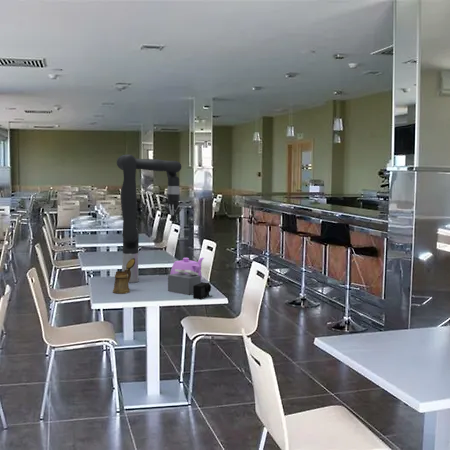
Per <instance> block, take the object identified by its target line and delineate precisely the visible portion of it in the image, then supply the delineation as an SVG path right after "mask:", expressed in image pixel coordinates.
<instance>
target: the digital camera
mask: <svg viewBox="0 0 450 450" xmlns="http://www.w3.org/2000/svg"><path fill="white" fill-rule="evenodd" d="M211 290H212V286H211V284H210V282H204V281H203V282H201V283H199V284H197V285H194V286H193V294H192V296H193V297H192V298H193V299H197V300H203V299H204V298H207V297H209V296H210V292H211ZM208 295H209V296H208ZM206 296H207V297H206Z"/></svg>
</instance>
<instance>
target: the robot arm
mask: <svg viewBox="0 0 450 450" xmlns="http://www.w3.org/2000/svg"><path fill="white" fill-rule="evenodd" d="M116 166H117V167H118V168H119V169H120V170H122V172H123V181H122V185H121V191H120V205H121V213H122V235H121V236H122V265H121V271H125V270H126V265H127V263H128V261H129V260H131V259H132V258H135V265H134V266H133V267H132V268H131V269H130V271H131V277H130V280H129V283H130V284H131V283H132V284H133V283H137V282H139V247H140V246H139V245H140V244H139V239H140V238H139V235H140V234H139V229H138V228H137V208H138V198H137V196H138V195H137V183H136V182H137V181H136V176H137V170H144V171H145V170H146V171H151V172H152V171H154V172H166V177H167V194H166V195H167V196H166V197H167V198H166V199H167V204H166V205H164V209H165V210H166V212H167V214H168V215H170V221H171V222H173V223H174V222H176V219H177V217H176V216H177V215H179V213H180V212H181V210H182V209H183V206H181V204H180V198H181V197H180V178H179V176H178V175H177V174H178V173H179V172H180V171H181V170H182V163H180V162H179V161H177V160H163V159H156V158H135V156H134V155H133V154H129V153H128V154H123V155H120V156H119V157H118V158H117V160H116ZM127 275H128V274H127ZM127 278H128V277H127ZM129 283H128V284H129Z"/></svg>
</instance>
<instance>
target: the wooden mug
mask: <svg viewBox="0 0 450 450" xmlns="http://www.w3.org/2000/svg"><path fill="white" fill-rule="evenodd" d="M134 265H135V258H132V259H131V260H129V261H128V263H127V265H126V270H125V271H122V270H118V271H116V272H115V274H114V286H113V289H112V293H114V294H121V295H123V294H124V295H125V294H128V293H130V287H129V280H130V277H131V271H130V269H131V268H132V267H133V266H134ZM127 274H128V275H127ZM127 277H128V278H127Z"/></svg>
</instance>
